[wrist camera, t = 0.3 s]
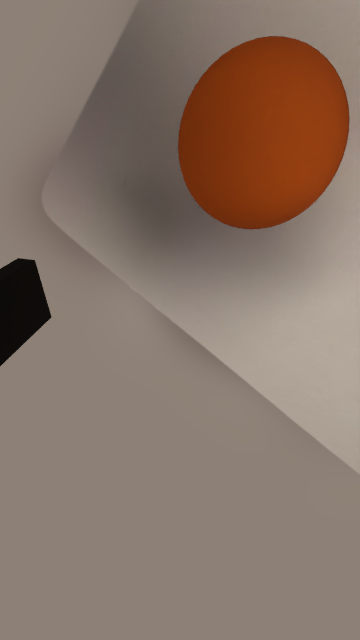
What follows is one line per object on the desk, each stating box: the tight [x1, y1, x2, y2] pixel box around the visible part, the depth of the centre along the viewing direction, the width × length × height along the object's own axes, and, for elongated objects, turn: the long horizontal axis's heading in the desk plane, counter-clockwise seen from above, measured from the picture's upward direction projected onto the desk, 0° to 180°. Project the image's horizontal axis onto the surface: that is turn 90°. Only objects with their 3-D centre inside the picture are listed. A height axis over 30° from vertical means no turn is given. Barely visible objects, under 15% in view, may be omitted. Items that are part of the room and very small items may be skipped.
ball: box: [178, 36, 349, 229], centre depth 21 cm, size 11×11×11 cm
